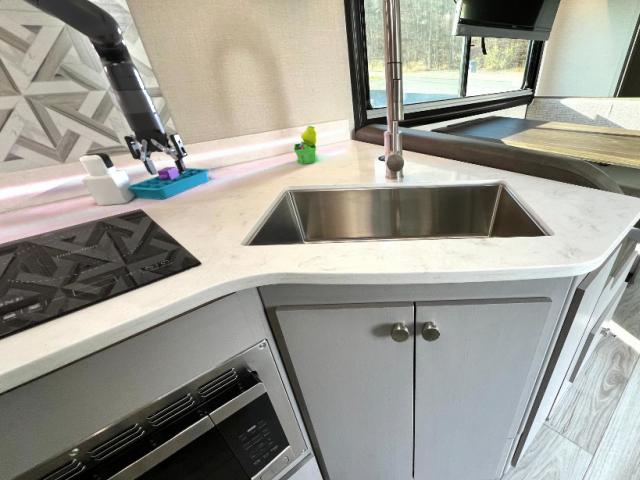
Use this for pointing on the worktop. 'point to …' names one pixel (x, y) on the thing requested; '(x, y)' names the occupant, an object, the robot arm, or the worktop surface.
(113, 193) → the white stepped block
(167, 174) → the candy
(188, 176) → the ice cube tray
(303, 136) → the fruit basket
